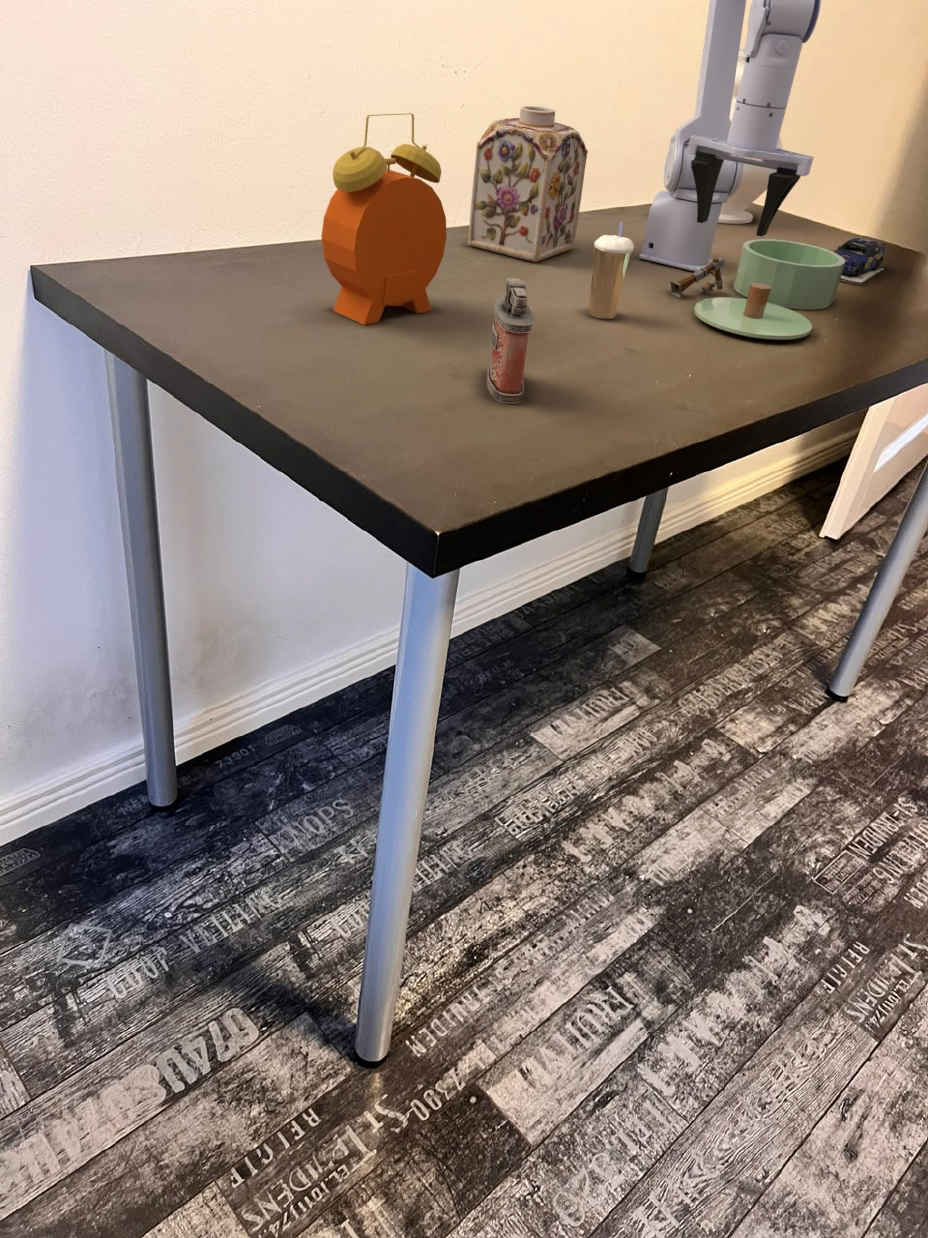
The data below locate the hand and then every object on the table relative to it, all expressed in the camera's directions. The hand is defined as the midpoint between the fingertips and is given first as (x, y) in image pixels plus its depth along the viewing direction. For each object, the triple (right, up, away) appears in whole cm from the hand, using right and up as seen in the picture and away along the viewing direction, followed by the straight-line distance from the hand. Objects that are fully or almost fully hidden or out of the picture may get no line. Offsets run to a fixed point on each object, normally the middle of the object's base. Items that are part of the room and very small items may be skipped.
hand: (731, 227), depth 117 cm
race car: (+25, +4, +26) cm, 37 cm away
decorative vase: (+12, +23, +51) cm, 57 cm away
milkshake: (-16, -12, -3) cm, 20 cm away
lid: (+2, -12, -1) cm, 12 cm away
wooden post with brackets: (-3, -5, +9) cm, 10 cm away
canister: (+10, -4, +12) cm, 16 cm away
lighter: (-29, -26, -25) cm, 46 cm away
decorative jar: (-25, +5, +20) cm, 32 cm away
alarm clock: (-42, -13, -9) cm, 45 cm away
